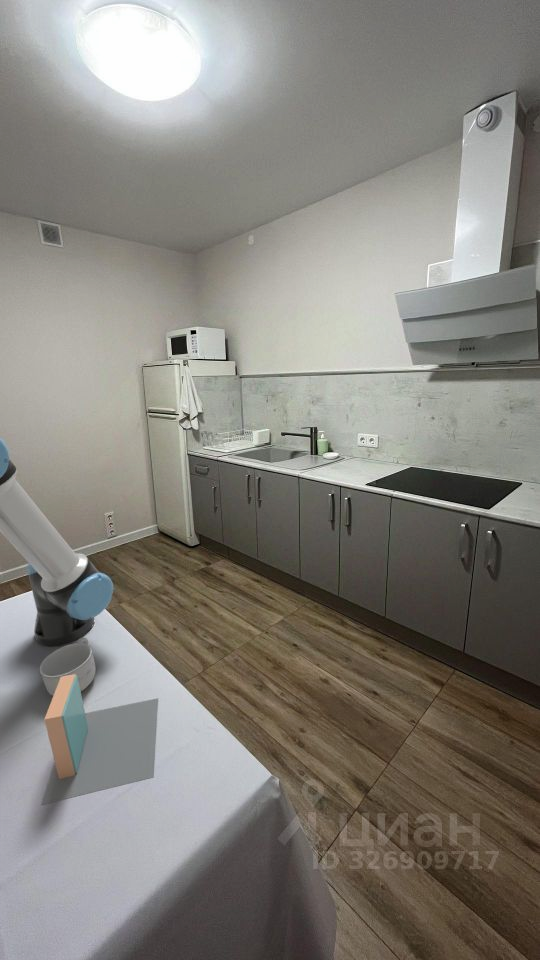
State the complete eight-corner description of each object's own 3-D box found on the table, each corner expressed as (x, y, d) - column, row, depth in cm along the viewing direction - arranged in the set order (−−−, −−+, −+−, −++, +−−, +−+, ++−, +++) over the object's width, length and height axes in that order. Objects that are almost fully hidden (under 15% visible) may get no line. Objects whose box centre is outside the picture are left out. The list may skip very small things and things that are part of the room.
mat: (69, 718, 83) (69, 716, 83) (158, 700, 86) (158, 698, 86) (41, 807, 66) (41, 804, 66) (154, 779, 69) (153, 777, 69)
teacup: (77, 708, 85) (71, 677, 83) (34, 702, 88) (27, 672, 85) (114, 663, 99) (109, 635, 96) (76, 658, 101) (70, 631, 99)
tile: (73, 730, 79) (60, 676, 76) (88, 727, 80) (77, 673, 76) (59, 778, 70) (44, 719, 66) (76, 774, 70) (63, 715, 67)
